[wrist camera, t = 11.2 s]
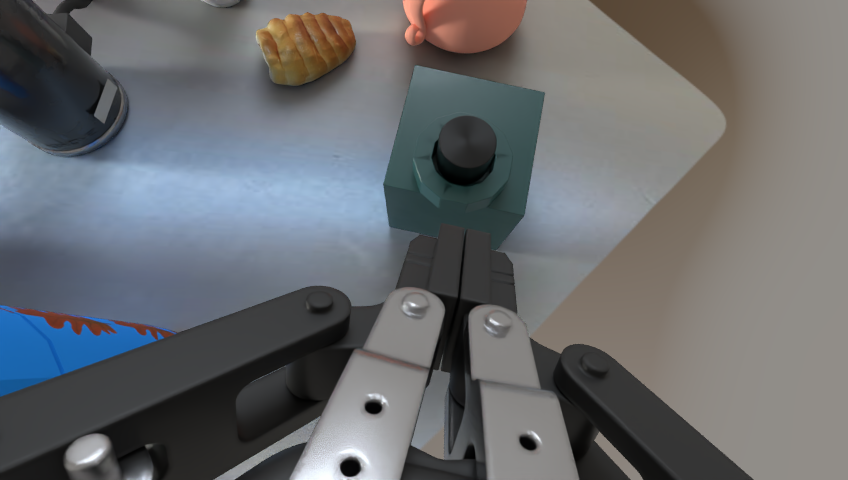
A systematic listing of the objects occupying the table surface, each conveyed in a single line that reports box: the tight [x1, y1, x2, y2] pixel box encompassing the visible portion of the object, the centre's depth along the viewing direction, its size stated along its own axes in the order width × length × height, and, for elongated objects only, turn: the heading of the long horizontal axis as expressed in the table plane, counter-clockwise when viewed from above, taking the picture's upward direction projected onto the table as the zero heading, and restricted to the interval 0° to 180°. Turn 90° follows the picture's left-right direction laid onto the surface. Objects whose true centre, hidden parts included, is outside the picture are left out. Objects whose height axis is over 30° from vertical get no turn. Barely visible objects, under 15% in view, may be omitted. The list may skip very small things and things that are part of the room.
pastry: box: [256, 12, 356, 86], centre depth 43 cm, size 9×7×4 cm
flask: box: [383, 65, 545, 250], centre depth 35 cm, size 11×10×12 cm
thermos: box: [0, 305, 177, 397], centre depth 24 cm, size 11×11×25 cm
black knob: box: [436, 115, 497, 184], centre depth 28 cm, size 4×4×3 cm
